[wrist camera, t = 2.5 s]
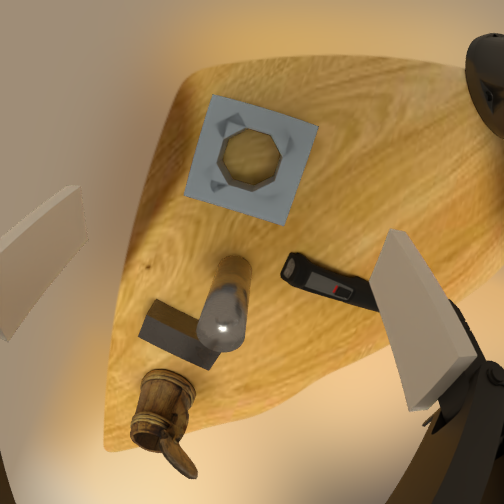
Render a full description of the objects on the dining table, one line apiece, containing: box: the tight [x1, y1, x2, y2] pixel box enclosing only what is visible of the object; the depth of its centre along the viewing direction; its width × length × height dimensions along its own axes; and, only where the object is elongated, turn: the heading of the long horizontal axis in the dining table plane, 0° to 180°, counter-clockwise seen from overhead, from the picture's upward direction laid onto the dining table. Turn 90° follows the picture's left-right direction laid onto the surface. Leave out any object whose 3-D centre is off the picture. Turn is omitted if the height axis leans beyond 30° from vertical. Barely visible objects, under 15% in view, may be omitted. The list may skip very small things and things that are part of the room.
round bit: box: [196, 256, 252, 352], centre depth 30 cm, size 4×4×12 cm
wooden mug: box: [130, 370, 198, 479], centre depth 35 cm, size 9×14×18 cm, turn 122°
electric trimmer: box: [281, 253, 380, 312], centre depth 34 cm, size 4×16×3 cm, turn 69°
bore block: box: [184, 94, 319, 226], centre depth 28 cm, size 10×10×4 cm
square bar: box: [138, 299, 221, 371], centre depth 37 cm, size 10×4×4 cm, turn 62°
